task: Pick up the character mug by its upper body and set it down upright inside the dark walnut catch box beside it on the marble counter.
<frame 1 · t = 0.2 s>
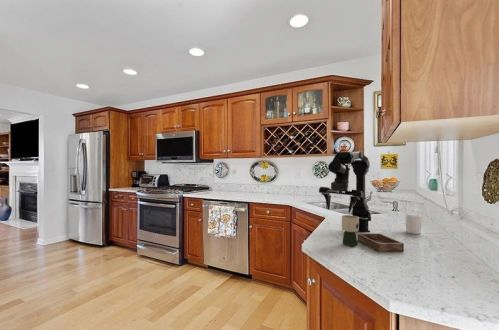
hand: (338, 210, 112), 15 cm above the countertop, tool pointing down, fingers open, 9 cm apart
white cup: (413, 232, 137), on the countertop
character mug: (349, 245, 111), on the countertop
catch box: (379, 245, 111), on the countertop
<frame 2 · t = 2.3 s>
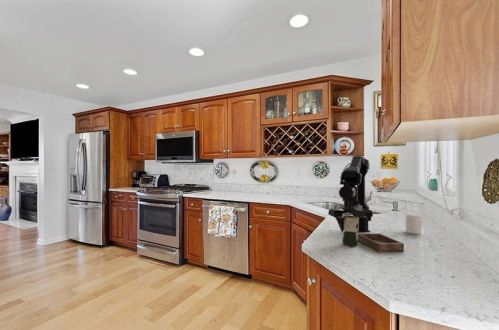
hand: (350, 231, 111), 6 cm above the countertop, tool pointing down, fingers closed on character mug, 7 cm apart
character mug: (349, 245, 111), on the countertop, touching gripper
everything else where it was.
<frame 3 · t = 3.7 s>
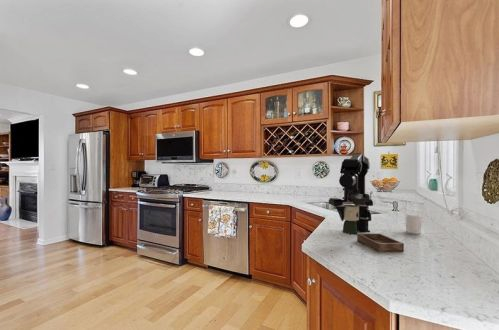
hand: (350, 220, 111), 11 cm above the countertop, tool pointing down, fingers closed on character mug, 7 cm apart
character mug: (349, 234, 111), point 5 cm above the countertop, touching gripper
everything else where it was.
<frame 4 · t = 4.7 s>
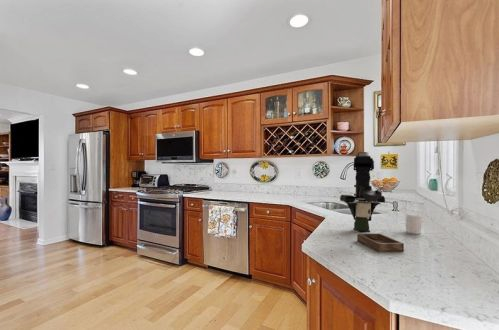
hand: (361, 217, 111), 13 cm above the countertop, tool pointing down, fingers closed on character mug, 7 cm apart
character mug: (361, 231, 111), point 6 cm above the countertop, touching gripper
everything else where it was.
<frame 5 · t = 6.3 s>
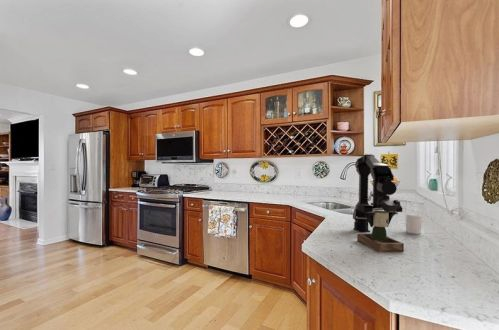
hand: (379, 226, 111), 9 cm above the countertop, tool pointing down, fingers closed on character mug, 7 cm apart
character mug: (379, 240, 111), point 2 cm above the countertop, touching gripper
everything else where it was.
when the fingers open (8 cm above the countertop, at t = 7.3 s): character mug drops 1 cm, resting on catch box.
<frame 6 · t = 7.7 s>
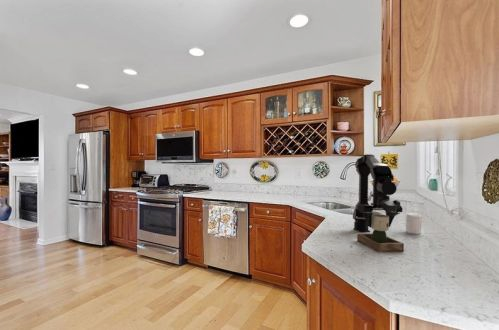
hand: (379, 227, 111), 8 cm above the countertop, tool pointing down, fingers open, 9 cm apart
character mug: (379, 244, 111), point 1 cm above the countertop, touching catch box
everything else where it was.
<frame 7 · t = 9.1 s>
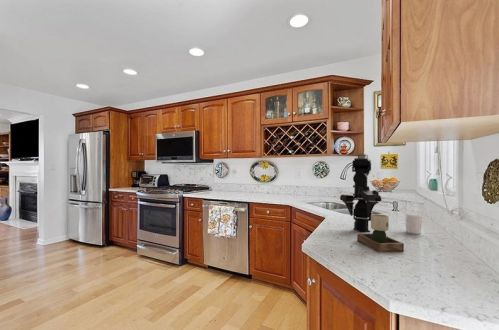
hand: (360, 215, 120), 12 cm above the countertop, tool pointing down, fingers open, 9 cm apart
nothing on the countertop moved.
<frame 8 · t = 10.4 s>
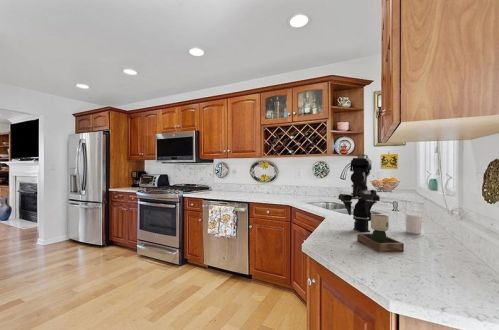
hand: (358, 215, 120), 12 cm above the countertop, tool pointing down, fingers open, 9 cm apart
nothing on the countertop moved.
at the end: character mug inside the target area on the catch box (0.1 cm from its centre), point 0.6 cm above the catch box's base; character mug tilted 0°; the gripper is holding nothing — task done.
